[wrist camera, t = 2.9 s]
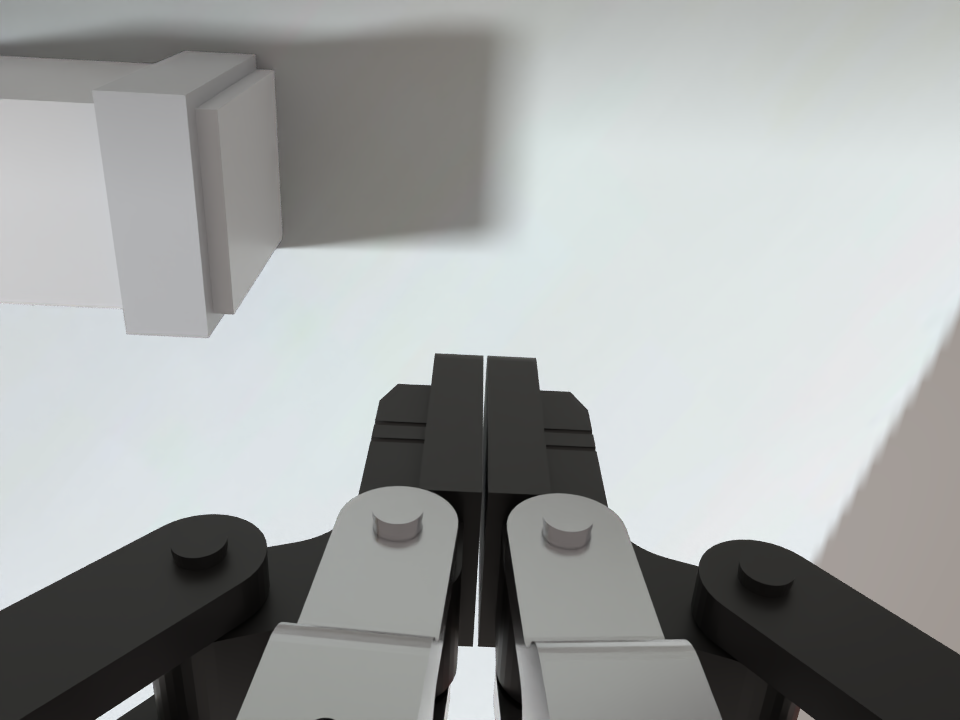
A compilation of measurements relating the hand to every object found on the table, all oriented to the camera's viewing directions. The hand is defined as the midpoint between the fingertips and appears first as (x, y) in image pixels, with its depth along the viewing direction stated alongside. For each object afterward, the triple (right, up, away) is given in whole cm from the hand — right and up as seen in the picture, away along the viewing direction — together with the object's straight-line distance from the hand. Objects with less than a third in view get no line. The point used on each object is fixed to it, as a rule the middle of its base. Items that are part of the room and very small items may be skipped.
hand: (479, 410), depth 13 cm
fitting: (-11, +7, +13) cm, 18 cm away
